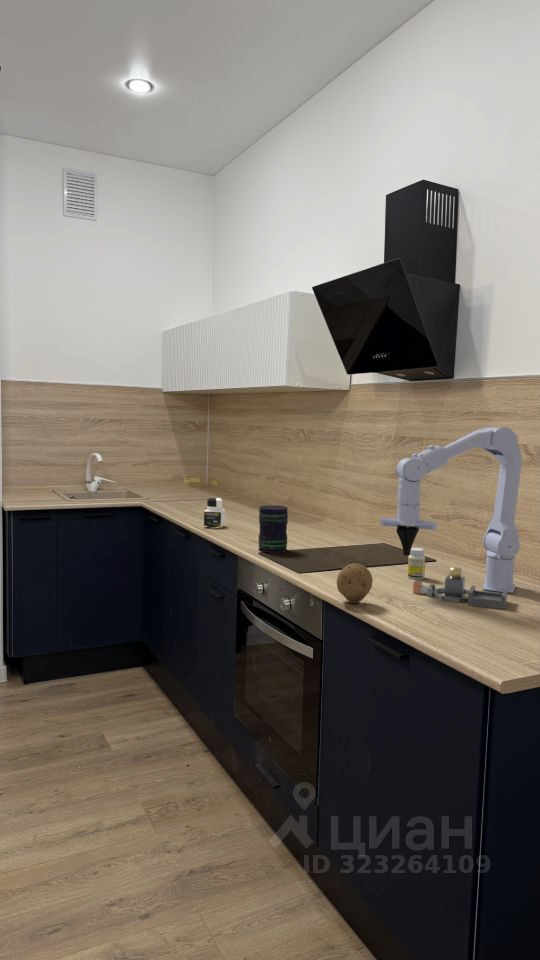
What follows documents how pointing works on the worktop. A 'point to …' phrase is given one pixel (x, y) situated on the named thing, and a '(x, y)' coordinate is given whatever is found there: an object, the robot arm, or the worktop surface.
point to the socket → (435, 594)
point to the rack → (487, 598)
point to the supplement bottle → (416, 564)
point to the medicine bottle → (214, 513)
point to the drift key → (420, 588)
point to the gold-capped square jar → (454, 583)
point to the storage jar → (273, 529)
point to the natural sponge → (354, 582)
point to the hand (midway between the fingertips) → (406, 554)
